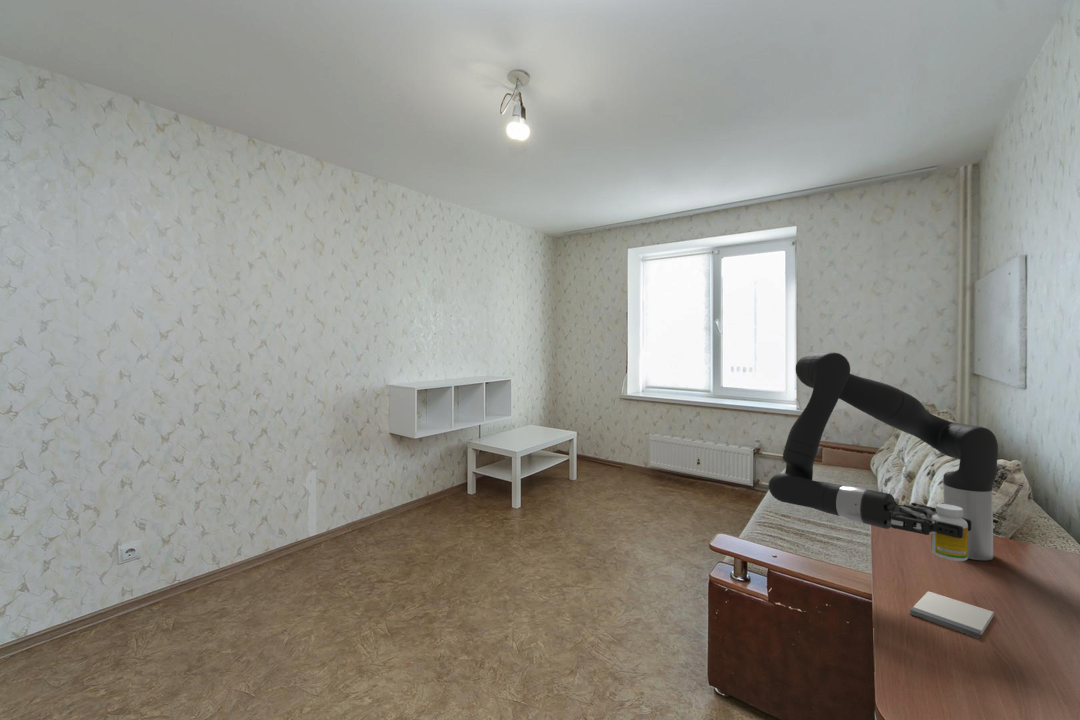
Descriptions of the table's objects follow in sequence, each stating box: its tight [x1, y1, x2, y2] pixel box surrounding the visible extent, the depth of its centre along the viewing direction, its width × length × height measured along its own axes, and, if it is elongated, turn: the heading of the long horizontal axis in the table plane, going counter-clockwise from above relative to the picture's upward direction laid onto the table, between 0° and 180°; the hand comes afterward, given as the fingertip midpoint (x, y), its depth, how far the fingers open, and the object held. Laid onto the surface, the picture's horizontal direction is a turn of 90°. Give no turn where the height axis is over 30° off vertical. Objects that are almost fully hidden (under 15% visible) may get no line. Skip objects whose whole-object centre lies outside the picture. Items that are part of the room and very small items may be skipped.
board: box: [909, 590, 995, 639], centre depth 89 cm, size 12×10×1 cm
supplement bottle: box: [930, 503, 968, 562], centre depth 89 cm, size 5×5×10 cm
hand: (966, 529), depth 87 cm, fingers closed on supplement bottle, 5 cm apart
